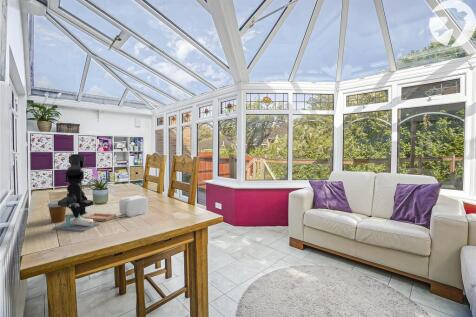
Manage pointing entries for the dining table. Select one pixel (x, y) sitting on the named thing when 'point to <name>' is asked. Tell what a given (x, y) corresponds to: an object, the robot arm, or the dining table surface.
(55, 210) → the disposable coffee cup
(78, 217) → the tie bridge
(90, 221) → the white bottle
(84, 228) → the board
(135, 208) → the cable organizer
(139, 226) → the dining table surface
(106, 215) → the tray
